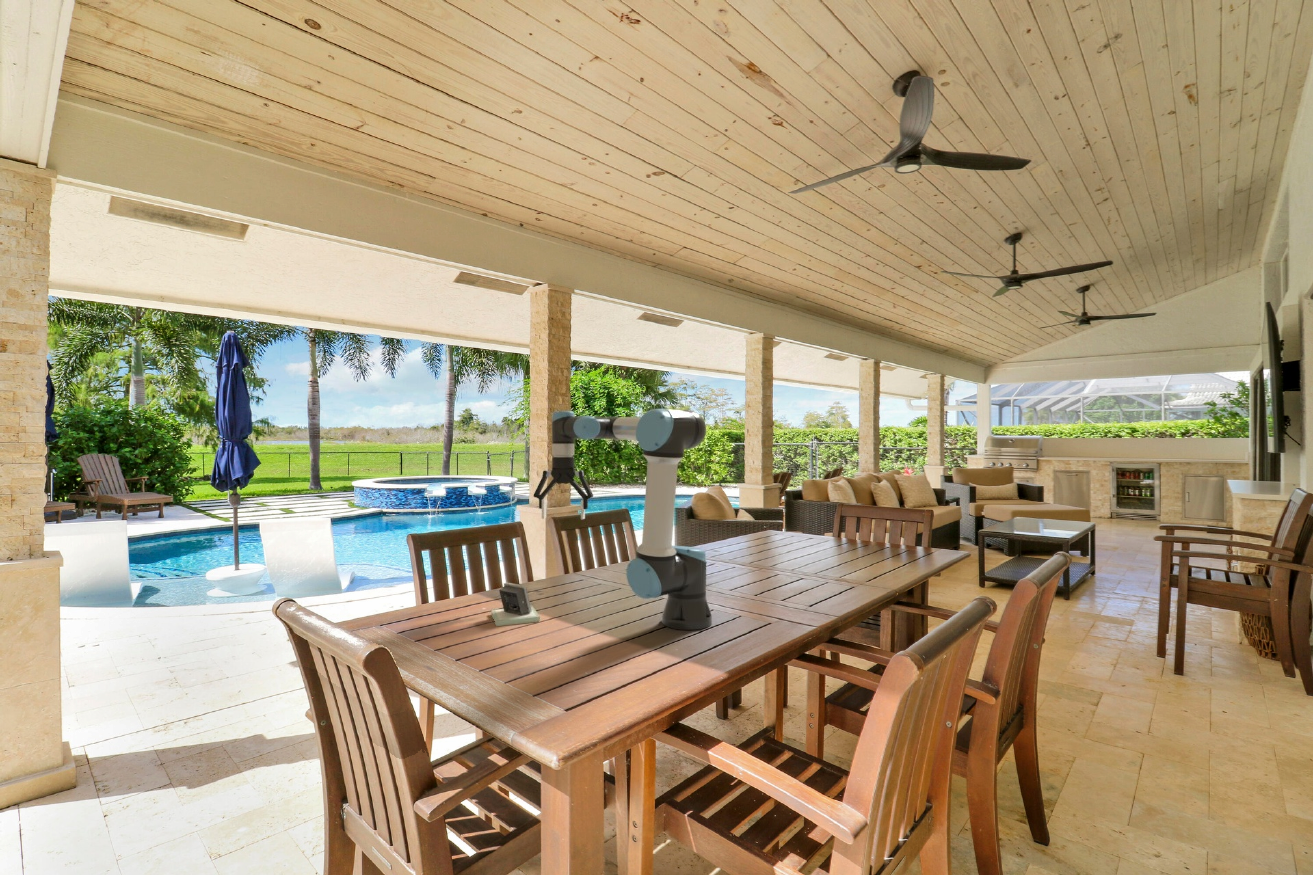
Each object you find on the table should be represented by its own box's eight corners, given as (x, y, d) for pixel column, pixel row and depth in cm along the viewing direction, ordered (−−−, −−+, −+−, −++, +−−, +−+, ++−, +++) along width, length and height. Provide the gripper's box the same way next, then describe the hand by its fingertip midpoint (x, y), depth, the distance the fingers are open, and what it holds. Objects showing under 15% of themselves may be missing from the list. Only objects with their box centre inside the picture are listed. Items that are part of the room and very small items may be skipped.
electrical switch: (532, 613, 193) (530, 584, 193) (520, 619, 189) (518, 589, 188) (511, 608, 198) (509, 580, 198) (499, 614, 194) (496, 585, 193)
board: (539, 621, 190) (539, 616, 190) (496, 626, 185) (496, 620, 185) (532, 610, 202) (532, 605, 202) (491, 614, 197) (491, 609, 197)
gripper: (601, 456, 214) (601, 517, 214) (531, 455, 217) (531, 516, 217) (596, 456, 206) (596, 520, 206) (524, 456, 209) (524, 519, 209)
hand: (563, 518), depth 211 cm, fingers open, 13 cm apart
